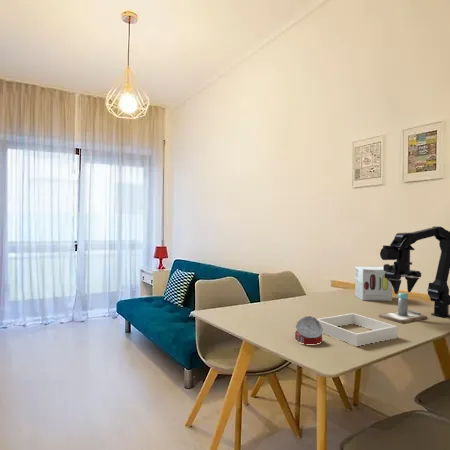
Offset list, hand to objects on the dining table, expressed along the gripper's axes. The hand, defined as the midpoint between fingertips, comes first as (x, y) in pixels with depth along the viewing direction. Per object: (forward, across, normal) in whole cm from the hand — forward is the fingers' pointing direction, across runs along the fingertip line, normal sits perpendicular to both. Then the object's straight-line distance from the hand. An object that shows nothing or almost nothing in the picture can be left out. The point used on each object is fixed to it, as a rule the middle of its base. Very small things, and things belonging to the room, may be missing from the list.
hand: (402, 293), depth 165 cm
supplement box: (+12, -22, -35) cm, 43 cm away
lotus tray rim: (+12, +39, +7) cm, 41 cm away
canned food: (+12, +61, +5) cm, 62 cm away
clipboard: (+12, 0, 0) cm, 12 cm away
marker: (+10, 0, 0) cm, 10 cm away
